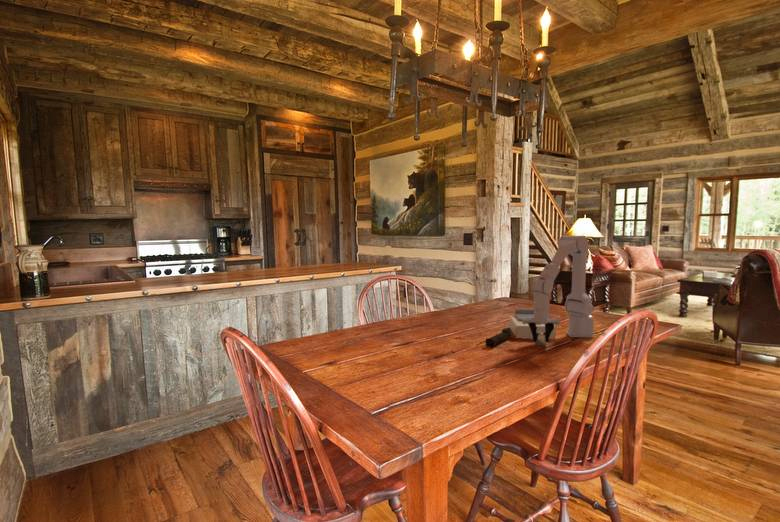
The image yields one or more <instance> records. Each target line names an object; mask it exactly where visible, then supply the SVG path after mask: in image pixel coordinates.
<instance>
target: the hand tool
mask: <svg viewBox="0 0 780 522" xmlns="http://www.w3.org/2000/svg"><path fill="white" fill-rule="evenodd" d="M511 337H512V330H511V329H510V327H506V328H504V329H502V330H501V332H500V333H498V334H496V335H494V336H491V337H487V338H486V339H485V341H484V342H485V344H484V345H485V346H486V347H487V348H490V349H491V348H492V349H493V348H495V347H496V346H497V345H498V344H500V343H503V341H509V340H510V339H511Z"/></svg>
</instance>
